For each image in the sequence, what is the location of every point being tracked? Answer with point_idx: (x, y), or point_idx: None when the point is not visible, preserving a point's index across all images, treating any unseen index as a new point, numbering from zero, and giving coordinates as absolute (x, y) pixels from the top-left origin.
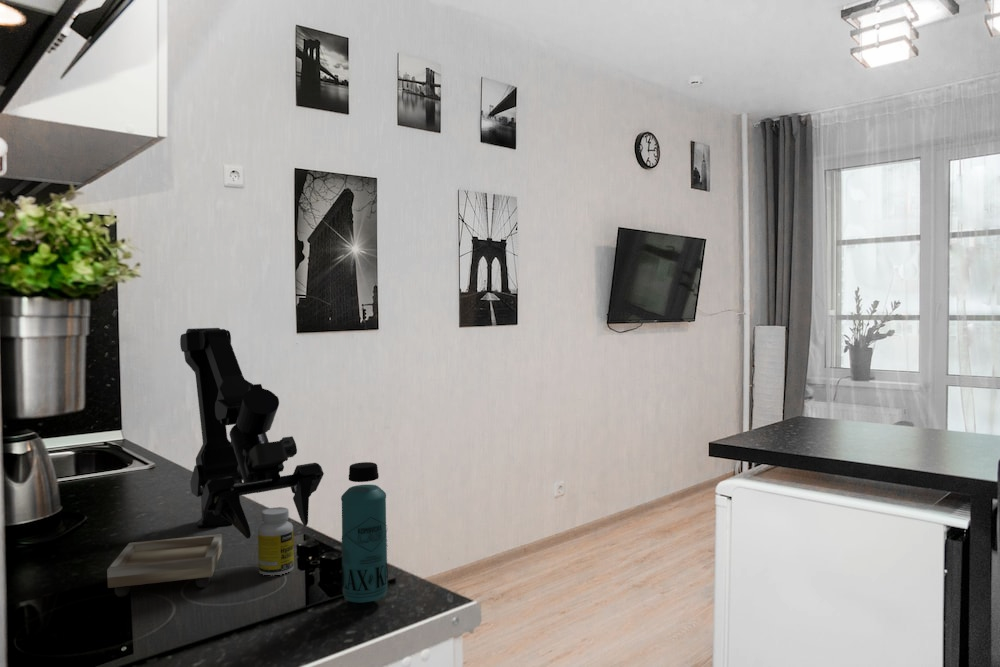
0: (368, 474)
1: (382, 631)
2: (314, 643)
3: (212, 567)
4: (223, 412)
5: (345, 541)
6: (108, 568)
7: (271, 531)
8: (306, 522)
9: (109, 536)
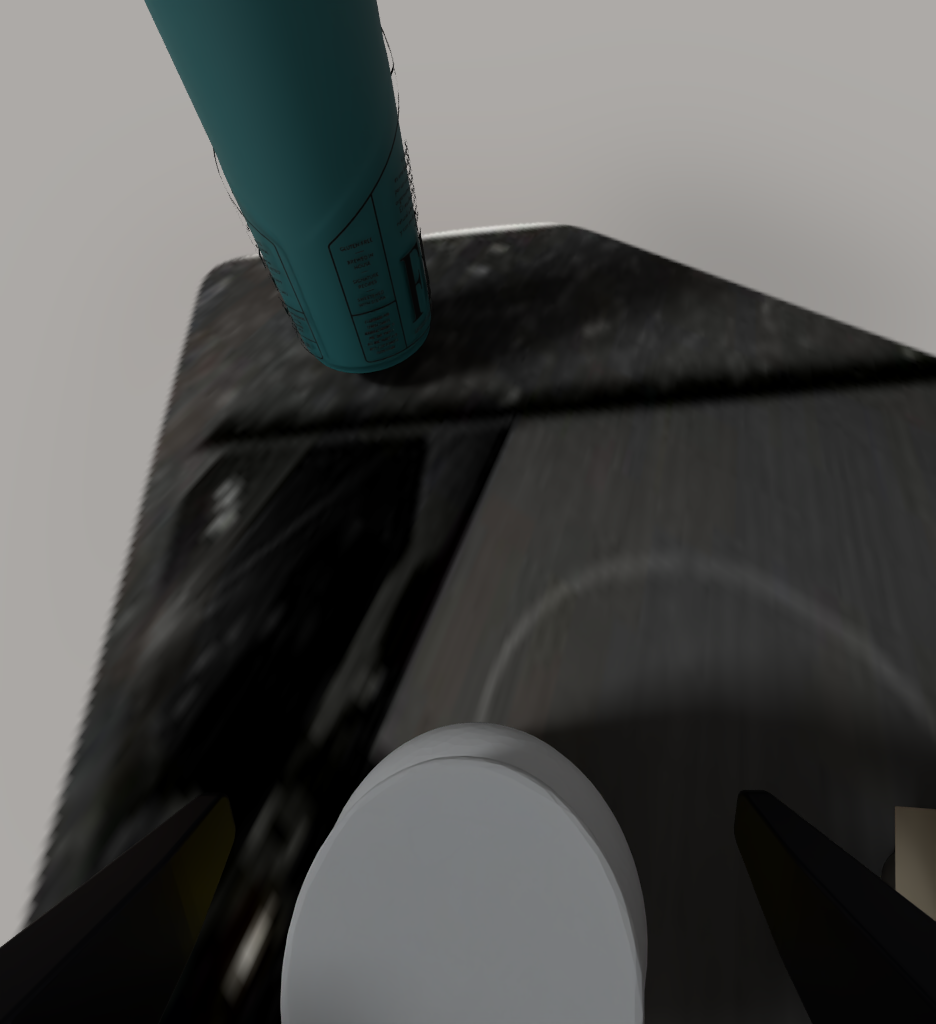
0: None
1: (425, 247)
2: (564, 265)
3: (927, 863)
4: None
5: (396, 111)
6: None
7: (554, 753)
8: (217, 792)
9: None
